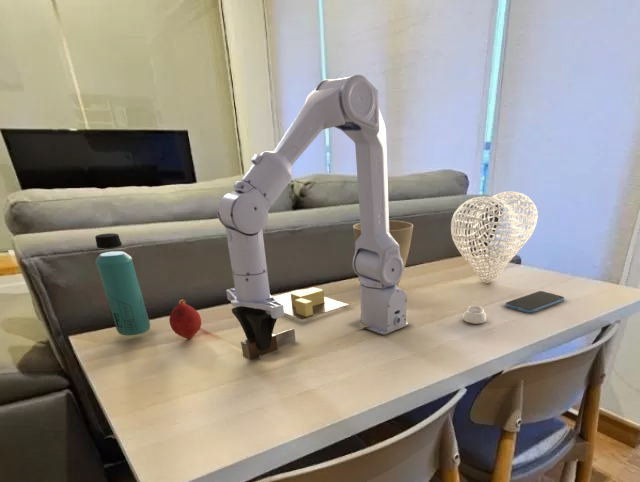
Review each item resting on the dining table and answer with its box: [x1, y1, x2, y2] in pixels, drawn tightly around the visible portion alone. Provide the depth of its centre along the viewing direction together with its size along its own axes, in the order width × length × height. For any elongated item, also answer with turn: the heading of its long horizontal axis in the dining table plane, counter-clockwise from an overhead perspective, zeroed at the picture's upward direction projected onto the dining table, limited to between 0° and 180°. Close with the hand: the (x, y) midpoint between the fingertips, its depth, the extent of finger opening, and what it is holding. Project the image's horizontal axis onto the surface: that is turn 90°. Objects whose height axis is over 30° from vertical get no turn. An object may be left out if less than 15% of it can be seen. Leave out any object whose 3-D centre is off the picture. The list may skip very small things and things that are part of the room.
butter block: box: [291, 286, 325, 307], centre depth 107 cm, size 4×7×3 cm, turn 136°
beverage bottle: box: [94, 232, 152, 336], centre depth 89 cm, size 6×7×20 cm
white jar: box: [462, 305, 488, 325], centre depth 100 cm, size 5×3×5 cm
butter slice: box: [295, 298, 313, 317], centre depth 102 cm, size 4×2×3 cm, turn 46°
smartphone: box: [504, 290, 565, 314], centre depth 110 cm, size 7×1×15 cm
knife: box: [240, 327, 297, 361], centre depth 85 cm, size 11×2×3 cm, turn 136°
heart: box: [450, 190, 539, 284], centre depth 121 cm, size 28×16×22 cm, turn 139°
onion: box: [168, 299, 202, 340], centre depth 91 cm, size 6×6×8 cm
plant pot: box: [352, 219, 414, 288], centre depth 118 cm, size 15×15×16 cm
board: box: [272, 289, 350, 321], centre depth 109 cm, size 18×14×1 cm
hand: (260, 346), depth 84 cm, fingers closed on knife, 2 cm apart
